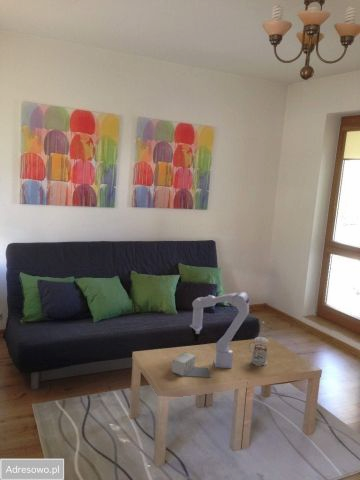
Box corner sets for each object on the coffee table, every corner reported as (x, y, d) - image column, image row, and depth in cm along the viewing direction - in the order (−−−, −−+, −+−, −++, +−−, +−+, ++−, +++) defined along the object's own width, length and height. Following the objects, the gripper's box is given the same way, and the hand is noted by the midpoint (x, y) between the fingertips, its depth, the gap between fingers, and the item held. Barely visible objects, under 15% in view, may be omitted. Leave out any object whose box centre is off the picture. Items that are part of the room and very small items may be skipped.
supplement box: (183, 364, 235) (170, 371, 225) (184, 351, 234) (172, 358, 224) (194, 368, 232) (182, 376, 221) (195, 355, 231) (183, 363, 220)
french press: (266, 367, 239) (270, 325, 236) (246, 363, 243) (250, 322, 239) (268, 360, 249) (272, 320, 245) (249, 356, 252) (253, 317, 248)
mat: (208, 368, 233) (208, 367, 233) (210, 377, 222) (210, 377, 222) (176, 366, 232) (176, 365, 232) (176, 376, 222) (176, 375, 222)
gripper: (189, 314, 249) (188, 335, 251) (191, 322, 234) (189, 345, 236) (201, 314, 249) (200, 336, 251) (203, 323, 235) (202, 346, 237)
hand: (195, 341), depth 244 cm, fingers closed
